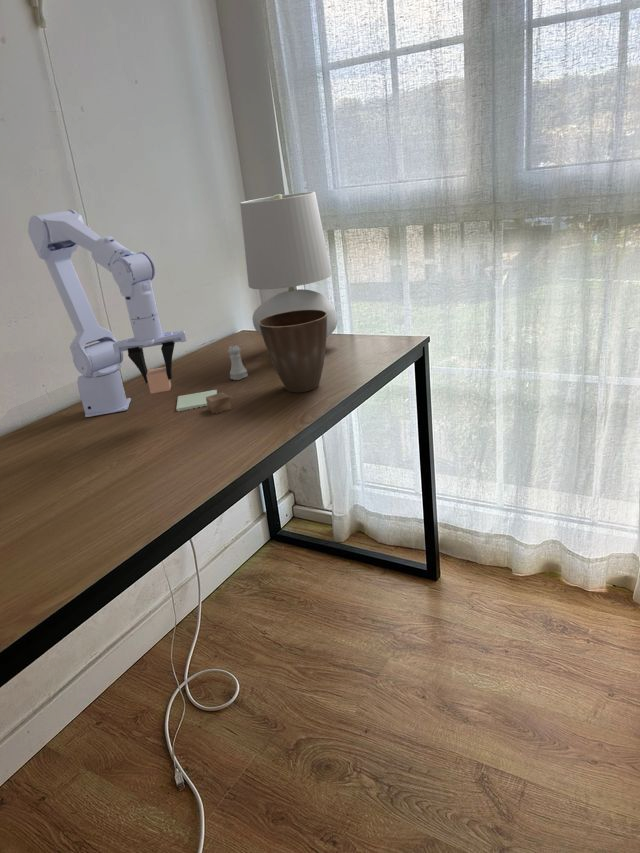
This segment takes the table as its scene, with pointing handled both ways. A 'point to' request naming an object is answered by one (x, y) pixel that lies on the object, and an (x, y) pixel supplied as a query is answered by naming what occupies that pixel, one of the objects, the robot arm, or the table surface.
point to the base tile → (193, 400)
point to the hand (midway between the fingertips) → (159, 379)
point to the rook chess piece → (236, 364)
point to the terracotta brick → (158, 380)
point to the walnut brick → (218, 402)
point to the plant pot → (296, 346)
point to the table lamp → (286, 254)
